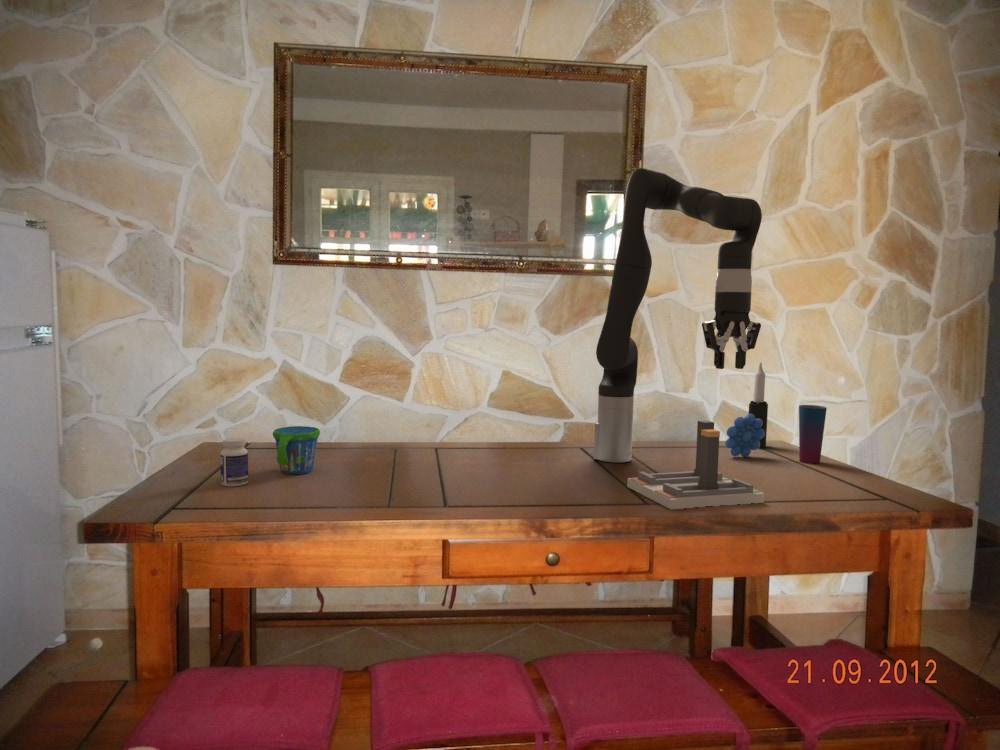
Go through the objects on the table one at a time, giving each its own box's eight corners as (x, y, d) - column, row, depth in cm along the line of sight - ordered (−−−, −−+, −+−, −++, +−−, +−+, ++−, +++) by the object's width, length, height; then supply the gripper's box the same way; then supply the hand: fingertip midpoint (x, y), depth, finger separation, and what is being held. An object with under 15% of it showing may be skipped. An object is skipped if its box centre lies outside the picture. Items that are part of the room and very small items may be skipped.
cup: (826, 465, 190) (829, 408, 189) (798, 463, 192) (801, 407, 190) (820, 460, 197) (823, 405, 196) (793, 458, 198) (796, 404, 197)
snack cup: (299, 480, 163) (298, 436, 162) (258, 477, 166) (257, 433, 165) (332, 466, 178) (332, 426, 177) (295, 463, 181) (294, 423, 180)
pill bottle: (253, 482, 161) (253, 438, 160) (236, 488, 156) (236, 442, 155) (232, 479, 163) (232, 436, 162) (215, 485, 158) (214, 440, 157)
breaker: (705, 492, 150) (708, 432, 149) (697, 488, 153) (700, 429, 152) (718, 491, 151) (721, 431, 150) (710, 488, 154) (712, 429, 153)
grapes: (754, 453, 205) (756, 411, 204) (768, 458, 198) (770, 414, 197) (717, 454, 202) (718, 411, 201) (729, 459, 196) (731, 415, 195)
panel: (670, 509, 145) (673, 435, 144) (627, 486, 163) (629, 421, 162) (764, 502, 151) (767, 432, 150) (712, 481, 170) (714, 418, 168)
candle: (766, 445, 217) (770, 362, 215) (764, 448, 212) (769, 363, 210) (748, 444, 219) (752, 361, 217) (746, 446, 215) (750, 362, 212)
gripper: (714, 289, 152) (711, 370, 154) (772, 291, 156) (768, 369, 158) (695, 290, 159) (691, 367, 161) (750, 291, 164) (746, 367, 165)
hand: (729, 368), depth 160 cm, fingers open, 4 cm apart
